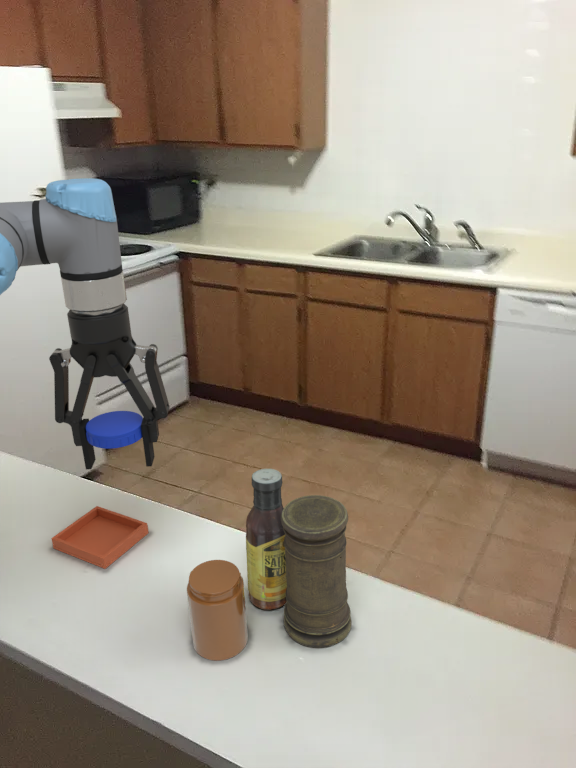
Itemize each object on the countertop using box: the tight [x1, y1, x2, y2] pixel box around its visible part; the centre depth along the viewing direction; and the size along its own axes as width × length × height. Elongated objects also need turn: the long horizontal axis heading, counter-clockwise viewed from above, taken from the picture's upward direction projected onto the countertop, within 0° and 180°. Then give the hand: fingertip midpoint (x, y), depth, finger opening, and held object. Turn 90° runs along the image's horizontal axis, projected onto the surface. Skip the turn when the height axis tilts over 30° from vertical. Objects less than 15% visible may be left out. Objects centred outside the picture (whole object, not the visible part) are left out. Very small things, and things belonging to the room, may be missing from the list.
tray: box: [51, 505, 149, 570], centre depth 108 cm, size 11×10×2 cm
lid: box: [86, 410, 143, 450], centre depth 92 cm, size 8×8×2 cm
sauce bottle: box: [245, 468, 287, 611], centre depth 91 cm, size 7×6×20 cm
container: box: [281, 494, 352, 649], centre depth 87 cm, size 9×9×18 cm
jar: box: [186, 559, 249, 662], centre depth 86 cm, size 7×7×10 cm
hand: (120, 462), depth 94 cm, fingers closed on lid, 8 cm apart
